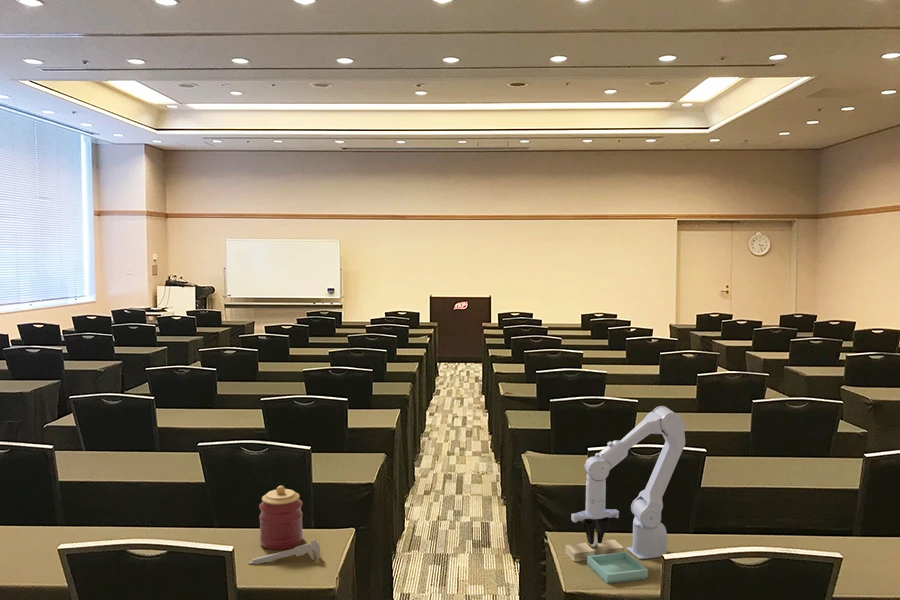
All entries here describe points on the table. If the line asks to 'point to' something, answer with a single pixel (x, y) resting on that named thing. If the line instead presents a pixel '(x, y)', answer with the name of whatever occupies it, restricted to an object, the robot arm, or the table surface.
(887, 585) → the table surface
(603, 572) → the tray
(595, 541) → the pin
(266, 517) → the canister
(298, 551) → the caliper
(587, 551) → the beige slotted block
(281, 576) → the table surface
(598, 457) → the robot arm
